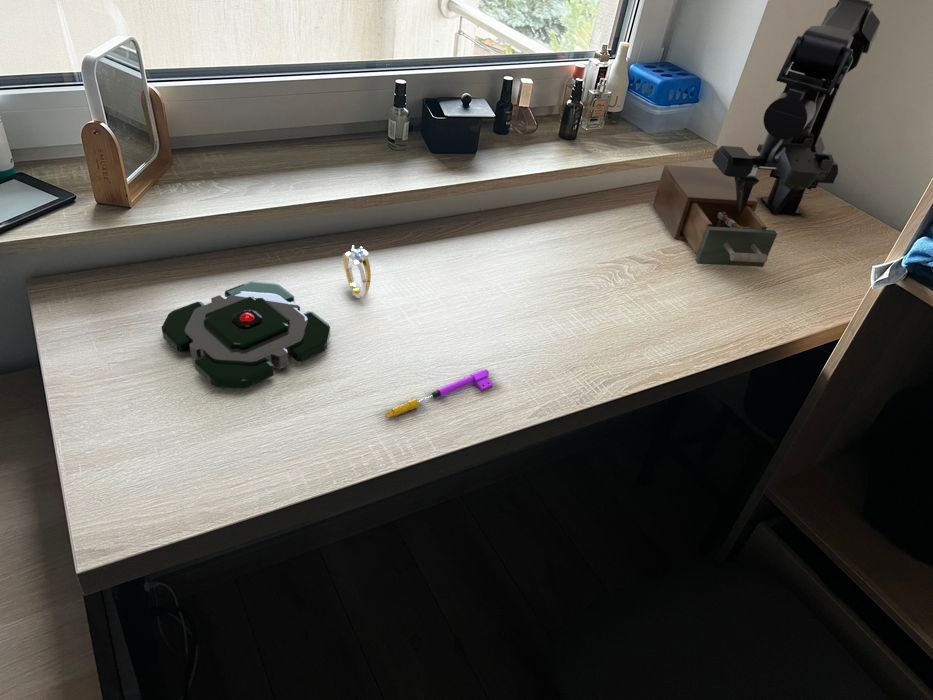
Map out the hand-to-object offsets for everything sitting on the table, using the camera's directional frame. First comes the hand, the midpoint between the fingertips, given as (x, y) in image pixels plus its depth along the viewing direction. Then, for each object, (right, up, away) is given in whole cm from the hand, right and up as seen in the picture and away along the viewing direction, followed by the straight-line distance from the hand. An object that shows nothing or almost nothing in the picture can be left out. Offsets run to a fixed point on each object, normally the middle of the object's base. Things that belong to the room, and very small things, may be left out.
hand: (756, 212), depth 119 cm
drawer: (-2, -5, +11) cm, 12 cm away
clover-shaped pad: (-77, -22, -22) cm, 83 cm away
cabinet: (-3, +2, +22) cm, 22 cm away
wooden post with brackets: (-1, -3, +9) cm, 10 cm away
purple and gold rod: (-51, -29, -26) cm, 64 cm away
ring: (-65, -15, -10) cm, 67 cm away
